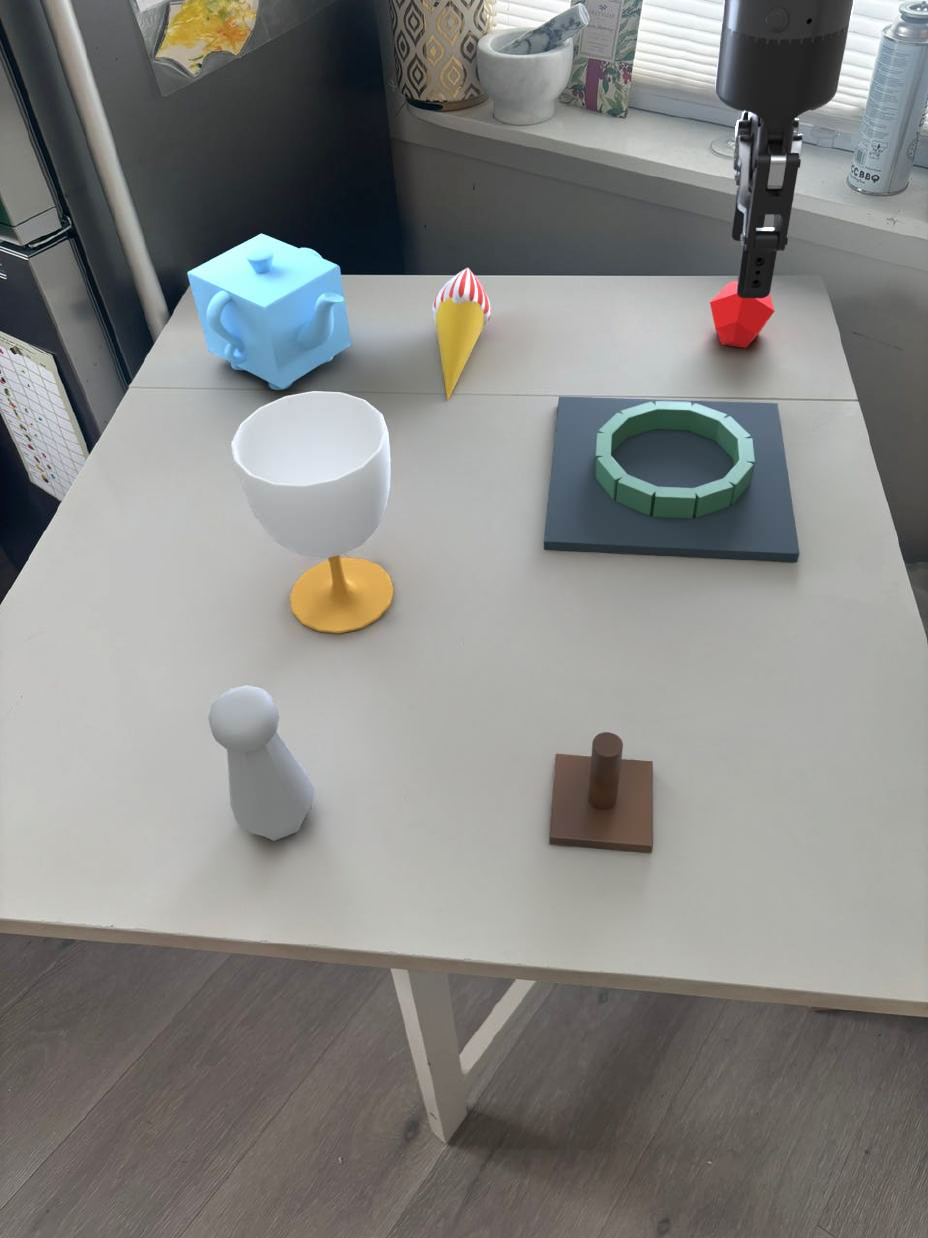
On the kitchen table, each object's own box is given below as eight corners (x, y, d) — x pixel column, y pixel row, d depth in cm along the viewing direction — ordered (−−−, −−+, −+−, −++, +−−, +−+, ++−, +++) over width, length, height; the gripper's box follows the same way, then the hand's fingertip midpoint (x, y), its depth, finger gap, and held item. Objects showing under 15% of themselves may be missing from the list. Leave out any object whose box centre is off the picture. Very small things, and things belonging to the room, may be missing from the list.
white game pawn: (246, 780, 74) (204, 669, 64) (323, 780, 73) (291, 668, 64) (231, 851, 70) (184, 743, 60) (312, 851, 69) (277, 743, 60)
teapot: (193, 373, 111) (162, 265, 101) (296, 313, 118) (275, 207, 109) (304, 433, 102) (280, 320, 93) (406, 364, 110) (395, 253, 100)
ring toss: (651, 768, 73) (661, 705, 67) (651, 853, 68) (662, 793, 62) (555, 760, 73) (557, 698, 68) (549, 844, 69) (550, 785, 63)
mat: (776, 411, 101) (777, 402, 100) (797, 562, 86) (799, 553, 85) (558, 404, 103) (558, 396, 103) (543, 549, 89) (543, 541, 88)
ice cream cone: (442, 428, 109) (462, 296, 118) (488, 408, 105) (505, 274, 114) (405, 395, 105) (429, 261, 114) (451, 373, 101) (472, 237, 110)
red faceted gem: (763, 319, 102) (780, 258, 105) (699, 318, 106) (716, 259, 108) (770, 361, 108) (786, 303, 111) (709, 359, 111) (725, 302, 114)
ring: (744, 423, 98) (748, 403, 96) (754, 521, 88) (759, 501, 87) (597, 418, 100) (599, 398, 98) (592, 514, 90) (593, 493, 88)
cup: (299, 665, 81) (256, 506, 68) (257, 575, 88) (211, 417, 76) (430, 615, 84) (413, 455, 71) (379, 533, 91) (354, 374, 79)
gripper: (867, 51, 55) (812, 318, 66) (837, -24, 64) (794, 221, 76) (727, 54, 56) (697, 316, 67) (719, -20, 65) (694, 221, 77)
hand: (748, 265), depth 72 cm, fingers open, 8 cm apart
